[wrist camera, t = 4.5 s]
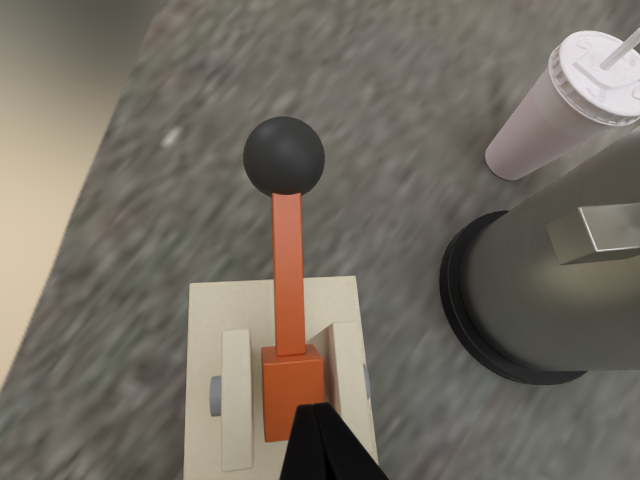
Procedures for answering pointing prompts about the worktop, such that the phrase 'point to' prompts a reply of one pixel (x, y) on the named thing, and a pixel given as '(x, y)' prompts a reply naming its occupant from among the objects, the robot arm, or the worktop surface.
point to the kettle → (554, 275)
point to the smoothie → (570, 103)
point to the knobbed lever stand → (246, 373)
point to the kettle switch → (286, 266)
